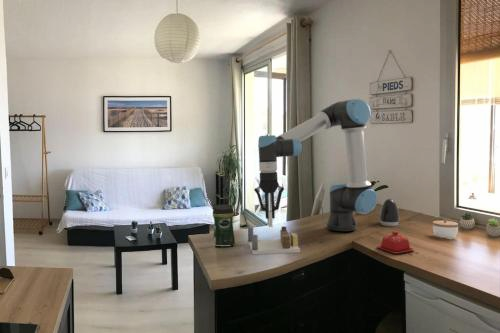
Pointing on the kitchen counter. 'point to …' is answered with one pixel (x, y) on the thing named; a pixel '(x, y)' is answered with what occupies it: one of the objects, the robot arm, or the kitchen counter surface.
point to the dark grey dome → (389, 213)
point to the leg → (285, 238)
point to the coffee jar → (223, 225)
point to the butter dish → (395, 243)
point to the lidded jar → (445, 229)
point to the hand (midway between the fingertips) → (270, 226)
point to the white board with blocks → (271, 244)
